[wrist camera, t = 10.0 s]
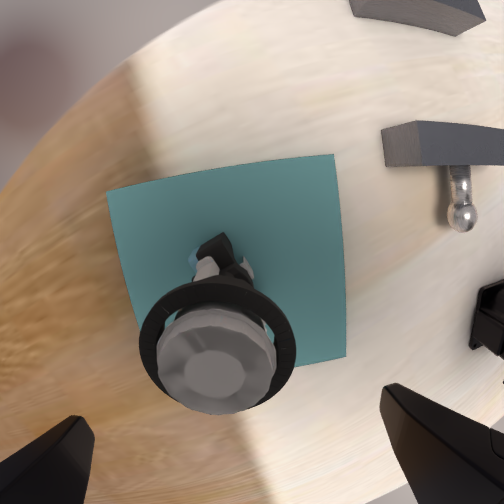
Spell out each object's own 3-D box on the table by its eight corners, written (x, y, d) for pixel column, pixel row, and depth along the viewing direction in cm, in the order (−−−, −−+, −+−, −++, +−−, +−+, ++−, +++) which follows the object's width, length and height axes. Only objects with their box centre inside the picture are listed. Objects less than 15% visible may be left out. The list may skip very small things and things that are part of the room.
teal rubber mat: (328, 155, 18) (333, 154, 17) (342, 349, 21) (346, 356, 20) (112, 190, 18) (105, 191, 17) (161, 374, 21) (158, 381, 20)
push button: (295, 303, 19) (341, 413, 9) (224, 341, 19) (216, 462, 10) (241, 213, 17) (244, 259, 8) (167, 258, 18) (98, 343, 8)
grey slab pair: (446, 13, 14) (475, -5, 10) (484, 220, 19) (521, 230, 15) (345, -8, 14) (366, -39, 10) (391, 235, 19) (426, 250, 15)
